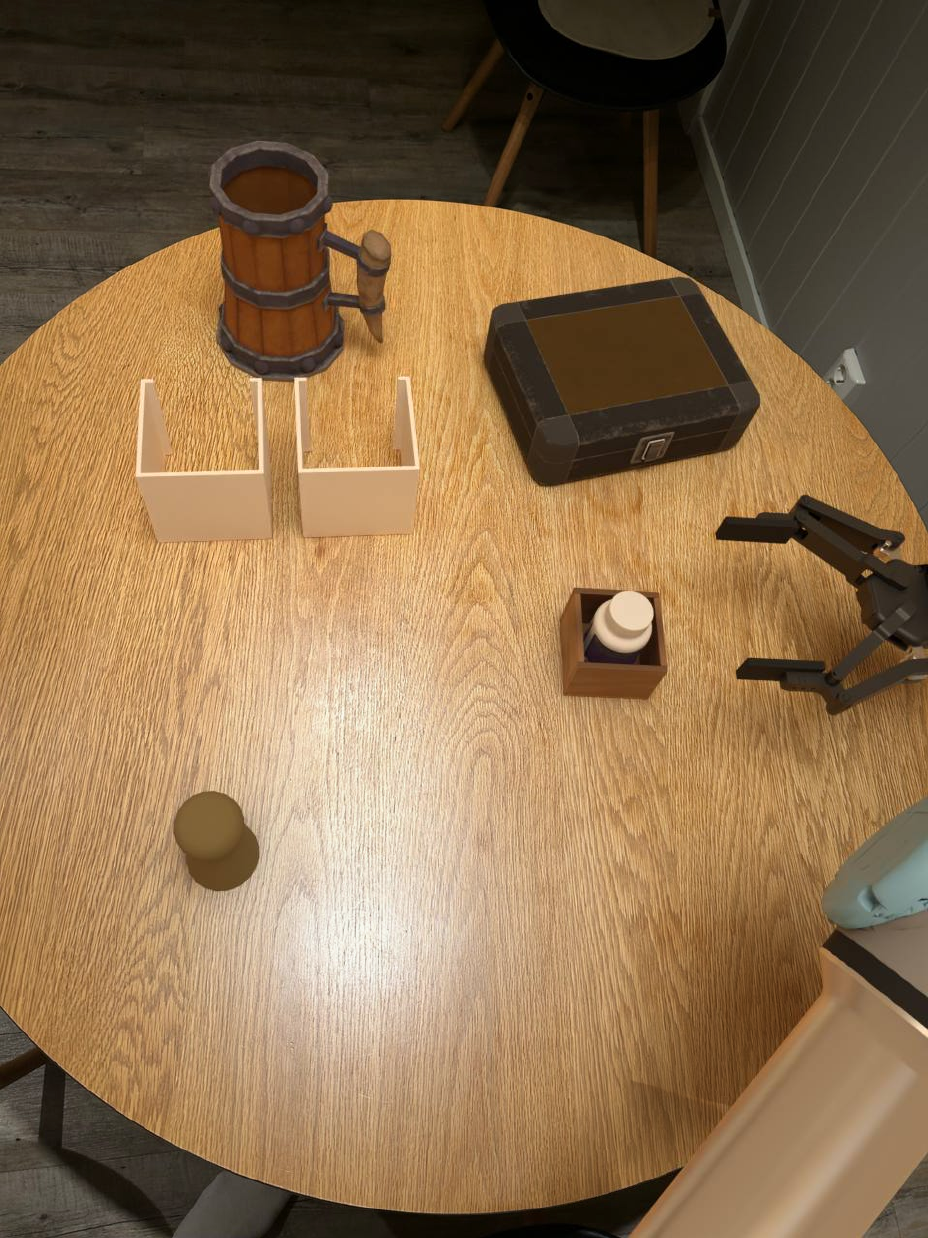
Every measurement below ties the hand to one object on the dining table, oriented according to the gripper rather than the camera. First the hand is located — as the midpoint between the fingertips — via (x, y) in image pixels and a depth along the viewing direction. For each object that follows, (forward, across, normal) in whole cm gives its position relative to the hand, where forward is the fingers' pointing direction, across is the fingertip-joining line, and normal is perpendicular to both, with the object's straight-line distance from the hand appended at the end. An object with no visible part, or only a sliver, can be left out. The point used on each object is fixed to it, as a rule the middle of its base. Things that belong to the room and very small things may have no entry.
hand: (730, 595), depth 80 cm
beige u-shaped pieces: (+40, +17, -14) cm, 45 cm away
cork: (+42, -20, -14) cm, 48 cm away
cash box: (+5, +32, -14) cm, 35 cm away
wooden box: (+8, 0, -14) cm, 16 cm away
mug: (+40, +38, -14) cm, 57 cm away
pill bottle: (+8, 0, -14) cm, 16 cm away
